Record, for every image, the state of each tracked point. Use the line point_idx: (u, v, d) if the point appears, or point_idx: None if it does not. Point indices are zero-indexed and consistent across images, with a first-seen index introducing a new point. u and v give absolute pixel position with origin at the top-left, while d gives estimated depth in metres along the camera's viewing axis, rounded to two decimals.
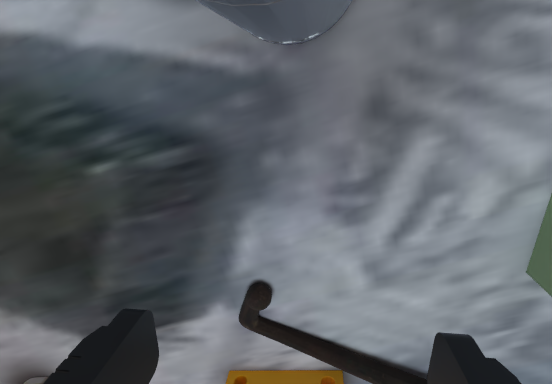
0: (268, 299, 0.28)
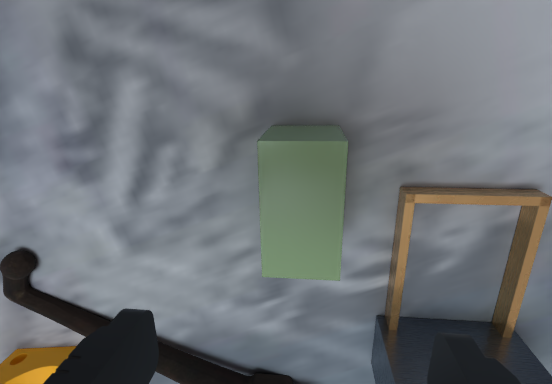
0: (21, 266, 0.26)
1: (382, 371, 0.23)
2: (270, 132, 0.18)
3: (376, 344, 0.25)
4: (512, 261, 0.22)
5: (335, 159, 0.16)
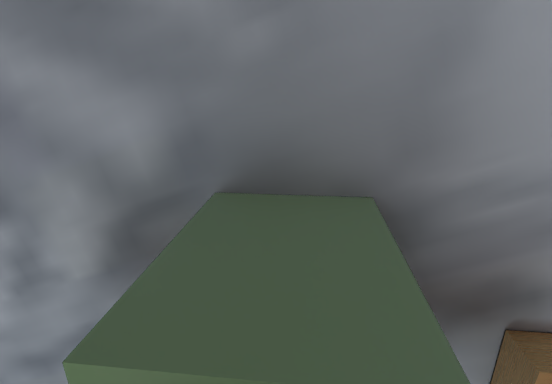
0: None
1: None
2: (184, 244, 0.06)
3: None
4: None
5: None
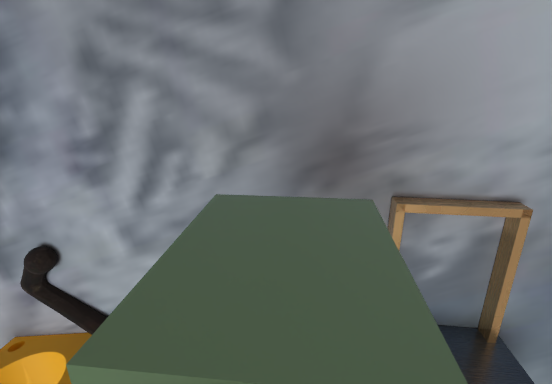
0: (45, 263, 0.27)
1: None
2: (185, 246, 0.06)
3: None
4: (496, 269, 0.23)
5: None
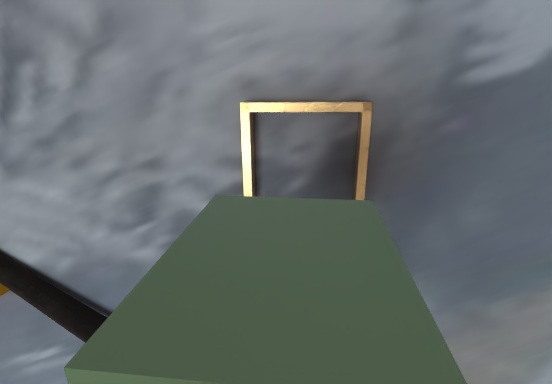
0: None
1: None
2: (185, 247, 0.06)
3: None
4: (355, 175, 0.23)
5: None
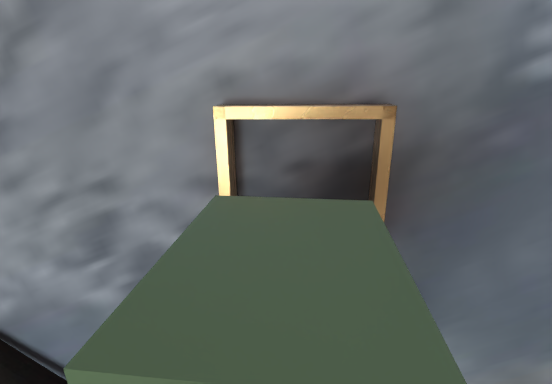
0: None
1: None
2: (185, 248, 0.06)
3: None
4: None
5: None
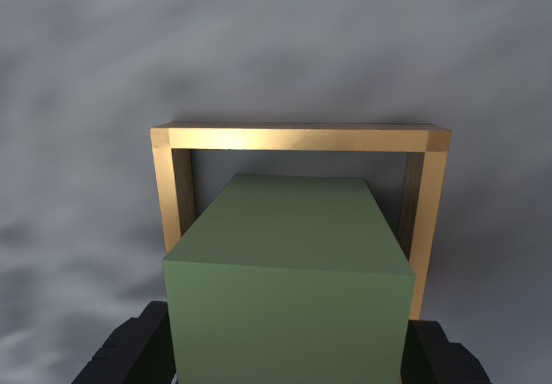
0: None
1: None
2: (221, 205, 0.08)
3: None
4: None
5: (375, 316, 0.06)
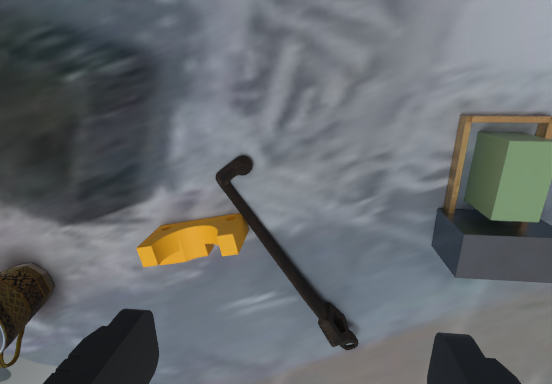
0: (249, 169, 0.38)
1: (445, 237, 0.36)
2: (496, 136, 0.32)
3: (438, 227, 0.38)
4: None
5: None
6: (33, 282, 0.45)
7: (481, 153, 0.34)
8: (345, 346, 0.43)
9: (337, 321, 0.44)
